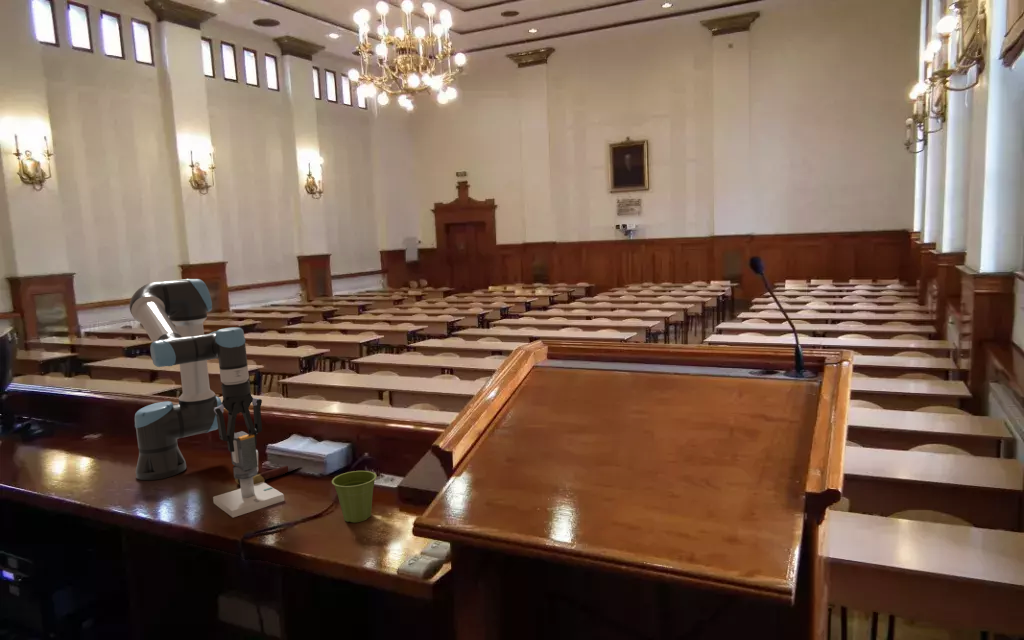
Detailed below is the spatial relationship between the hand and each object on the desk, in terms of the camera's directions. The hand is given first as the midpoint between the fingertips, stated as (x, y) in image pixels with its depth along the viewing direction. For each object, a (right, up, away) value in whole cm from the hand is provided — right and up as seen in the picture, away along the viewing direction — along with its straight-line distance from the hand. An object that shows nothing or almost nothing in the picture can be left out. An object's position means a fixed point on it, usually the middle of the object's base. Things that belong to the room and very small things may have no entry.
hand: (244, 459), depth 192 cm
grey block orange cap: (0, -5, +1) cm, 5 cm away
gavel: (+1, -11, +21) cm, 24 cm away
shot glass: (-9, -10, +27) cm, 30 cm away
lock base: (+1, -13, +2) cm, 13 cm away
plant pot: (+36, -13, -13) cm, 41 cm away
